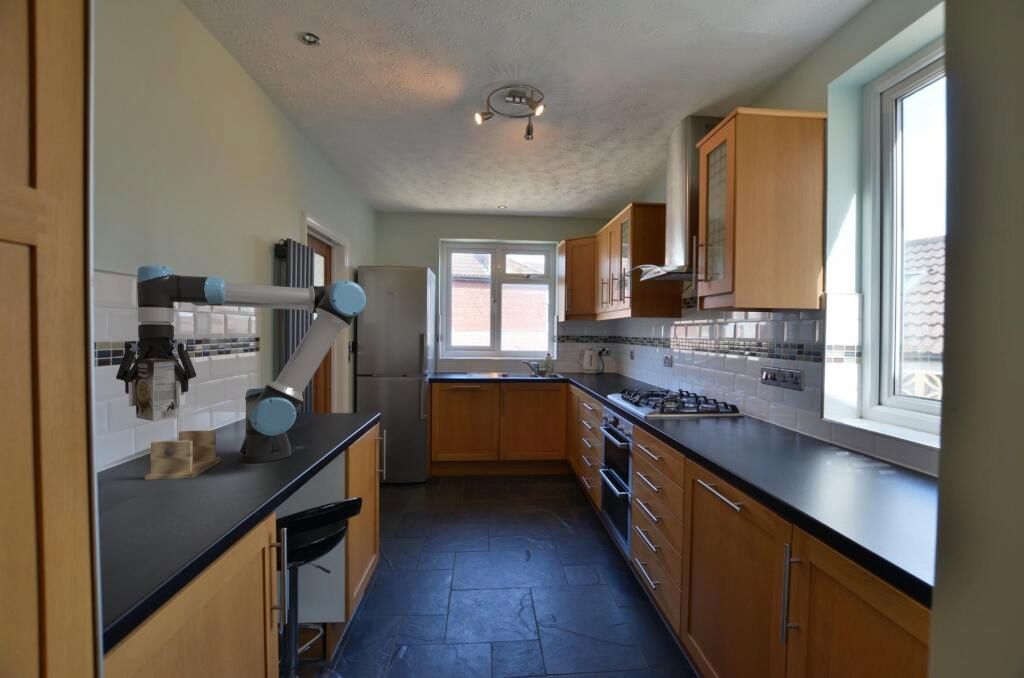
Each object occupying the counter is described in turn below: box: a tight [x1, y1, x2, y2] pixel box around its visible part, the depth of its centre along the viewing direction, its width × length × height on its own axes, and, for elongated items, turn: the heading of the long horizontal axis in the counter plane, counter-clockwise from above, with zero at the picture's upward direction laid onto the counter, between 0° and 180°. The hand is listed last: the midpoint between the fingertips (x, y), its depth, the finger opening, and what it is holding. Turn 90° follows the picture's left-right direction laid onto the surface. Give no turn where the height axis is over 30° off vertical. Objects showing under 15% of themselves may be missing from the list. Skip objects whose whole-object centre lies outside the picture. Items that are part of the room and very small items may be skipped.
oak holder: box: [144, 429, 221, 480], centre depth 130 cm, size 12×16×10 cm
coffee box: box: [134, 358, 180, 422], centre depth 118 cm, size 9×6×16 cm
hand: (157, 405), depth 118 cm, fingers closed on coffee box, 11 cm apart
